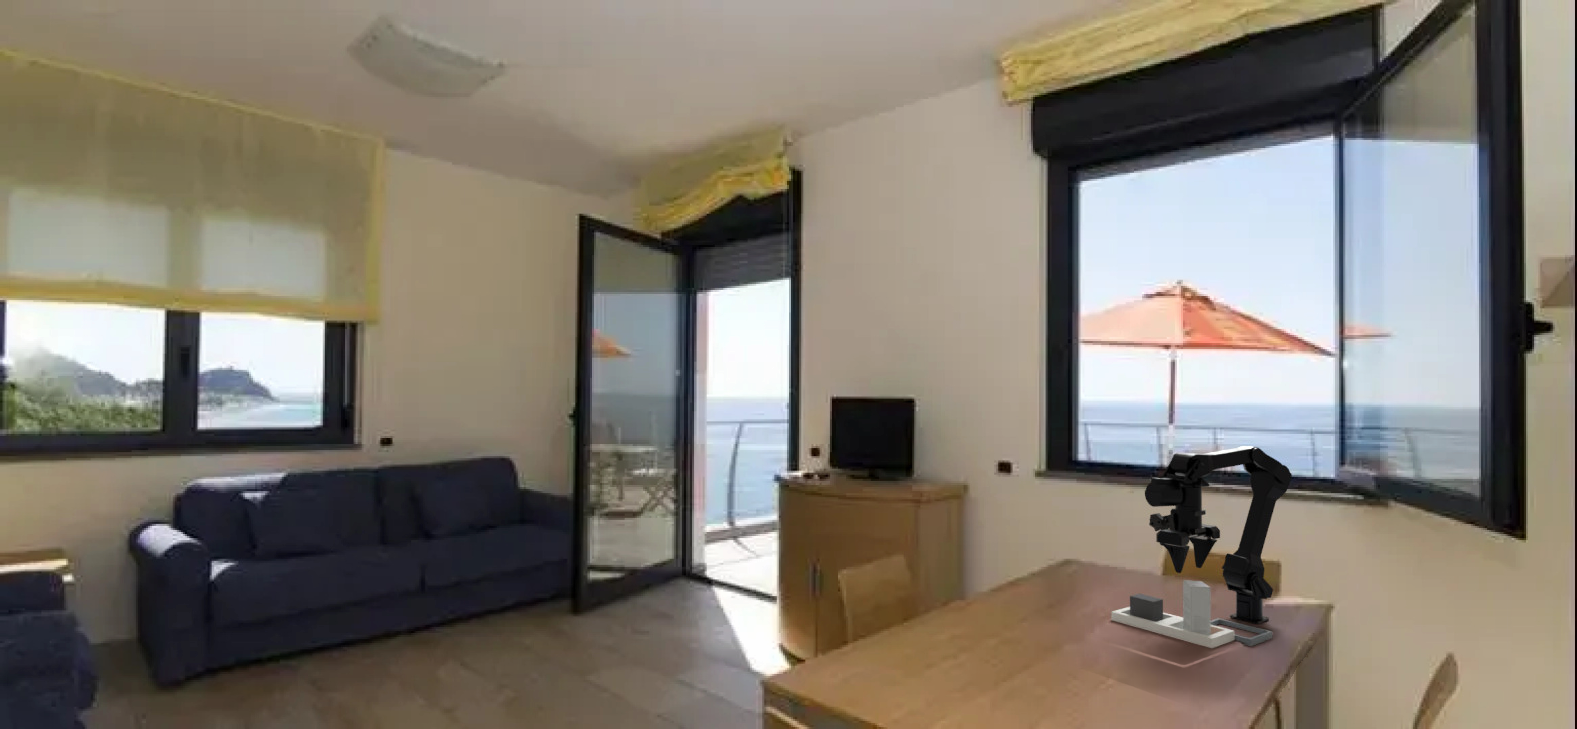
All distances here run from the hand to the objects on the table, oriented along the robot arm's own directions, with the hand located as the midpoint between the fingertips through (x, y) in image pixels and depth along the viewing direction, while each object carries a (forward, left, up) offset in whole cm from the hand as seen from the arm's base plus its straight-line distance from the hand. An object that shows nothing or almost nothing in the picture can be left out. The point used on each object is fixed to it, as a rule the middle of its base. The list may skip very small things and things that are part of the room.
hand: (1188, 570), depth 188 cm
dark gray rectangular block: (+9, -5, -12) cm, 16 cm away
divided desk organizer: (+9, +1, -13) cm, 16 cm away
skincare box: (+9, +7, -13) cm, 17 cm away
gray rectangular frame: (-1, +10, -13) cm, 16 cm away
